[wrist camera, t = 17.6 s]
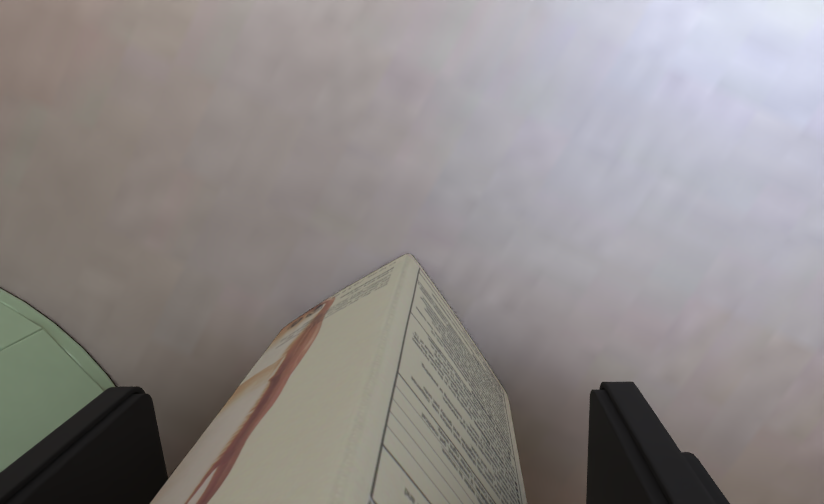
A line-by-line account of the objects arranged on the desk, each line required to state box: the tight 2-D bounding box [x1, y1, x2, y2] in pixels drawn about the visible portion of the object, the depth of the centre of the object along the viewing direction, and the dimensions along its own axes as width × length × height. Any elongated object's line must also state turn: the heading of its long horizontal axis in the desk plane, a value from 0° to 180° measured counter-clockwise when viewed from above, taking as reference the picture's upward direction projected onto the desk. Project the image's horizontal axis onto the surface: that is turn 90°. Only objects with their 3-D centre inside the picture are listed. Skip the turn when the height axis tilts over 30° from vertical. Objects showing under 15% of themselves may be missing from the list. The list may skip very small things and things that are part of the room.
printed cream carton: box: [150, 254, 527, 504], centre depth 9 cm, size 5×4×10 cm
